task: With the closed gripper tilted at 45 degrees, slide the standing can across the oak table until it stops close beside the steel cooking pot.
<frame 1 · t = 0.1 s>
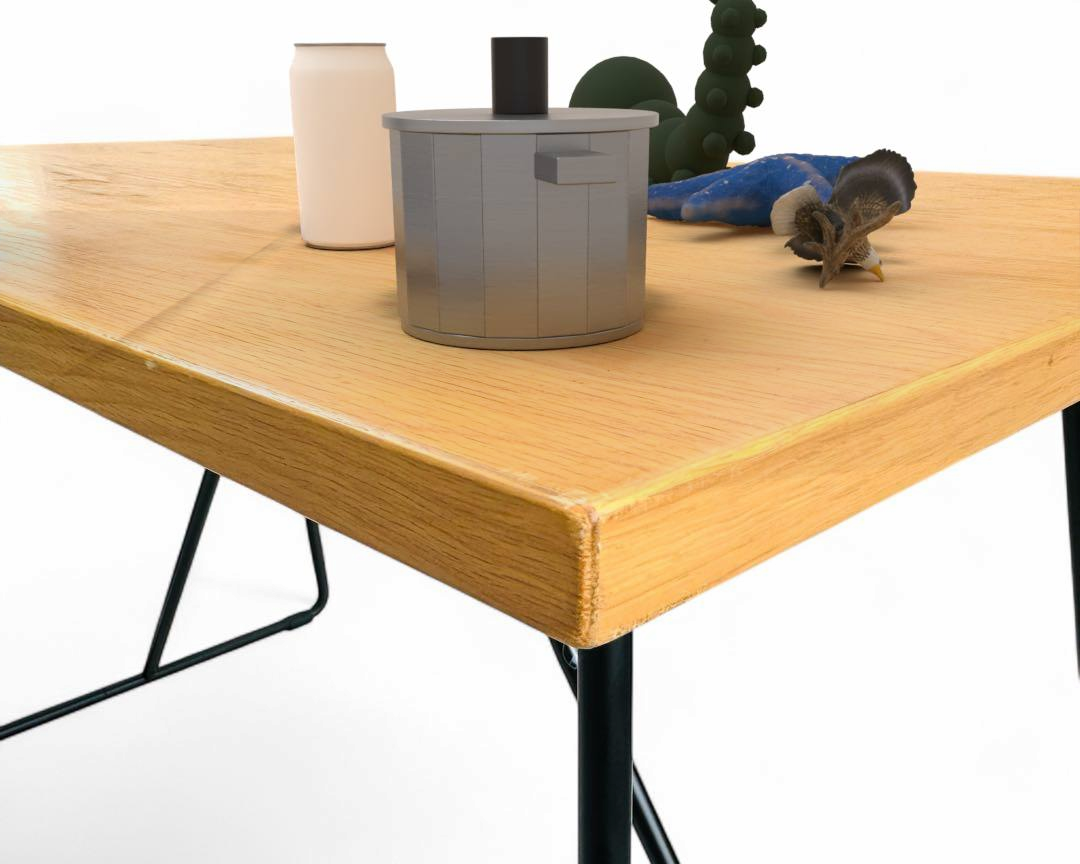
pot: (522, 322, 55), on the table
pot lid: (520, 125, 52), point 8 cm above the table, touching pot
eagle figurine: (843, 280, 66), on the table
toy figurine: (651, 199, 103), on the table
starfish: (752, 229, 85), on the table
can: (352, 246, 79), on the table
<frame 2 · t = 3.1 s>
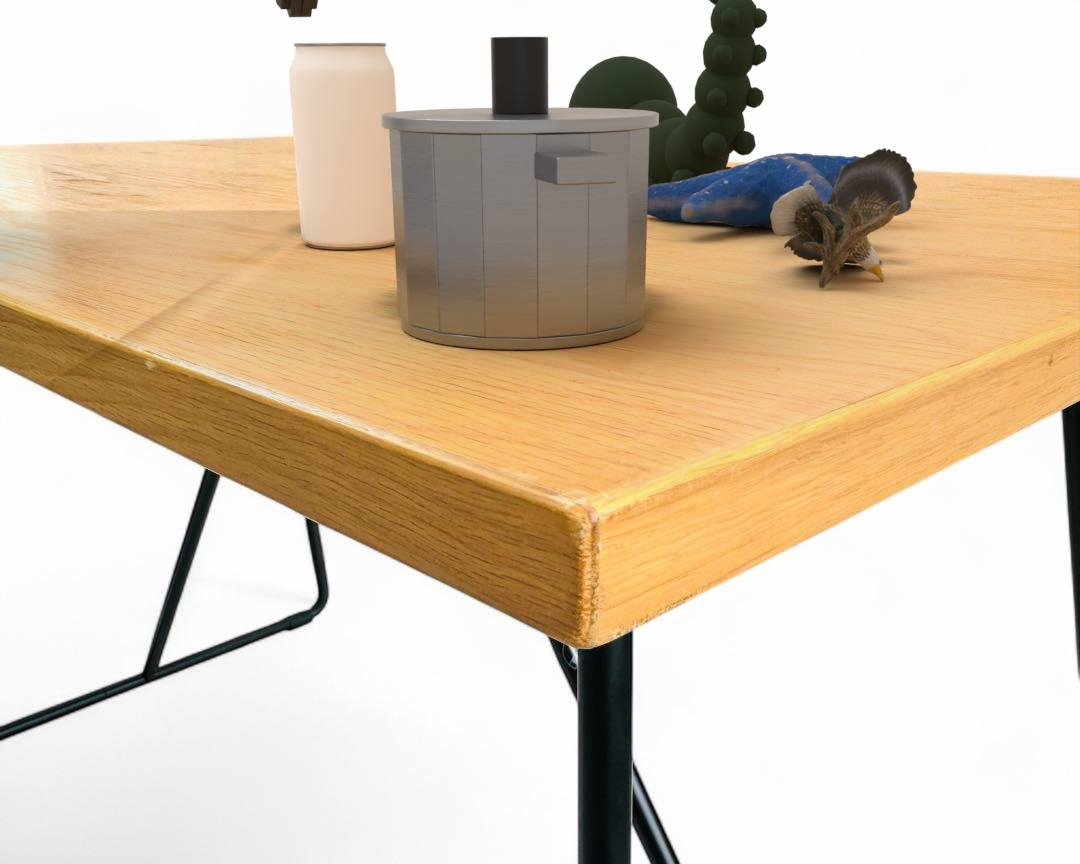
hand: (302, 7, 81), 14 cm above the table, tool tilted 45°, fingers closed
nothing on the table moved.
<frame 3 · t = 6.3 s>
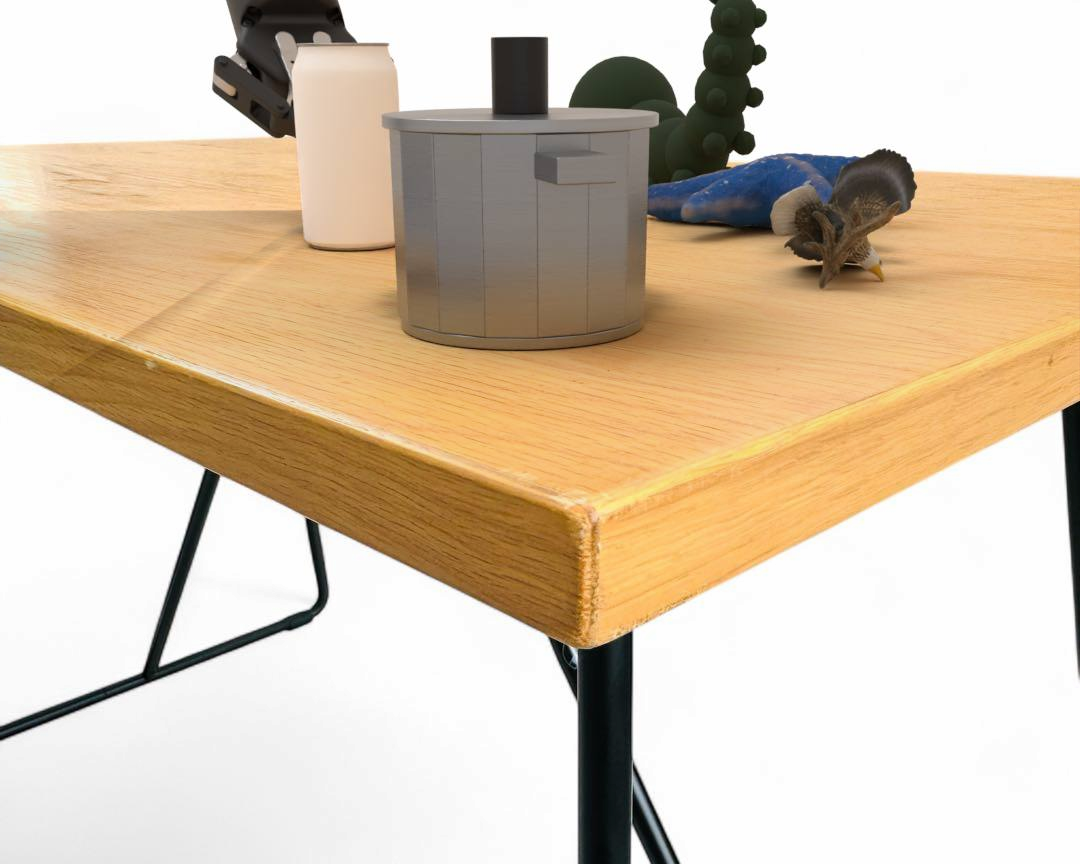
hand: (335, 177, 80), 4 cm above the table, tool tilted 45°, fingers closed
can: (355, 247, 78), on the table, touching gripper
everything else where it was.
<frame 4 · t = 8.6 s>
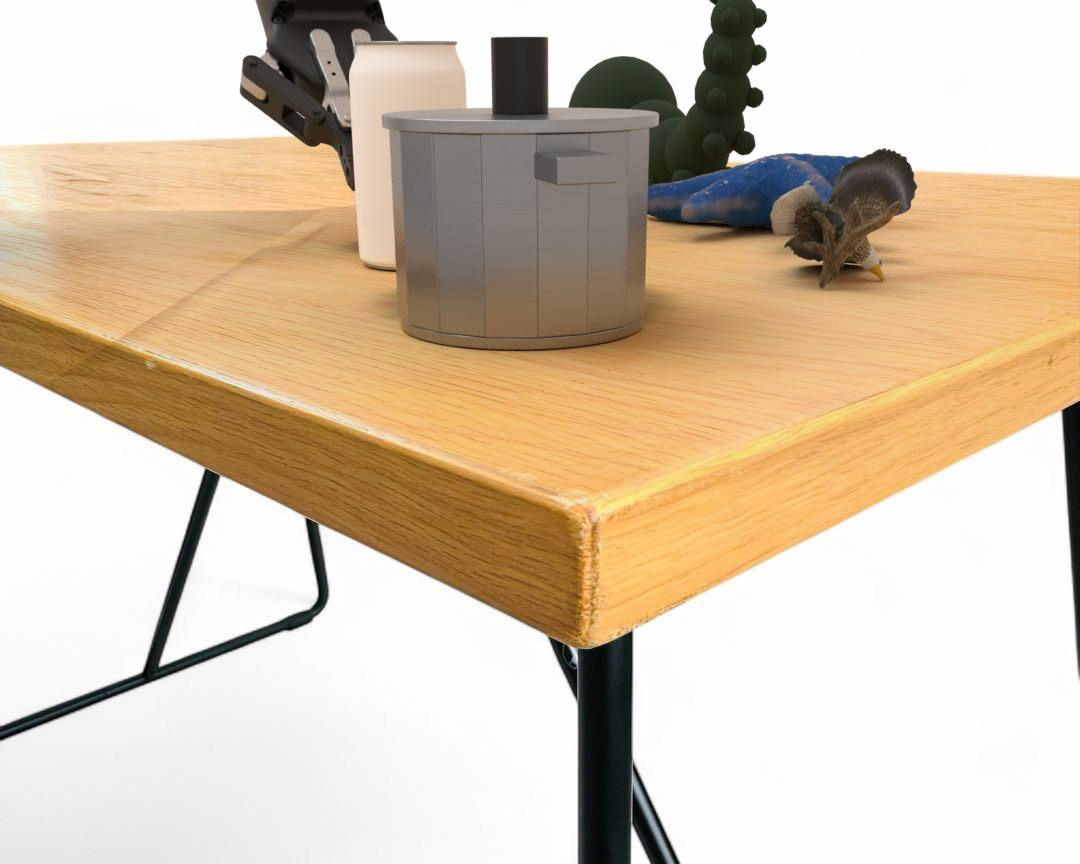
hand: (377, 189, 72), 4 cm above the table, tool tilted 45°, fingers closed
can: (415, 266, 71), on the table, touching gripper
everything else where it was.
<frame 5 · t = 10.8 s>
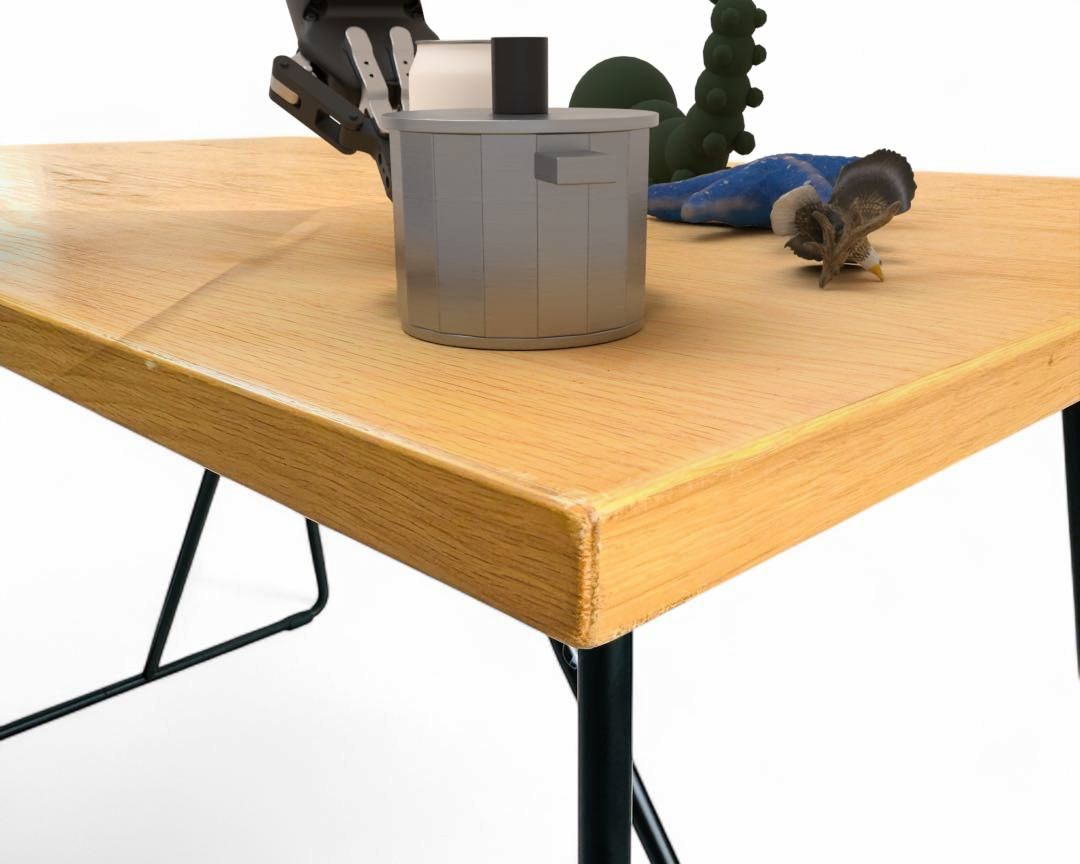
hand: (419, 201, 66), 4 cm above the table, tool tilted 45°, fingers closed
can: (476, 283, 66), on the table, touching gripper
everything else where it was.
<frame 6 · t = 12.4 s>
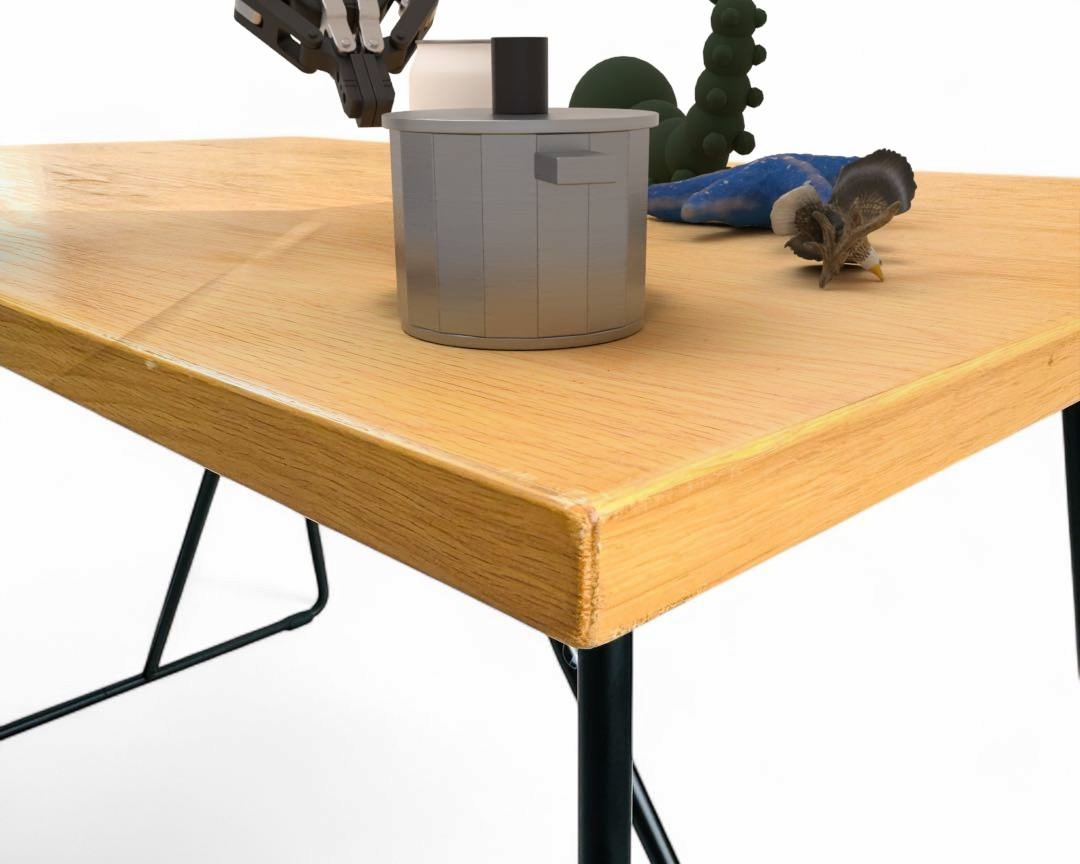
hand: (374, 117, 69), 8 cm above the table, tool tilted 45°, fingers closed
can: (476, 283, 66), on the table
everything else where it was.
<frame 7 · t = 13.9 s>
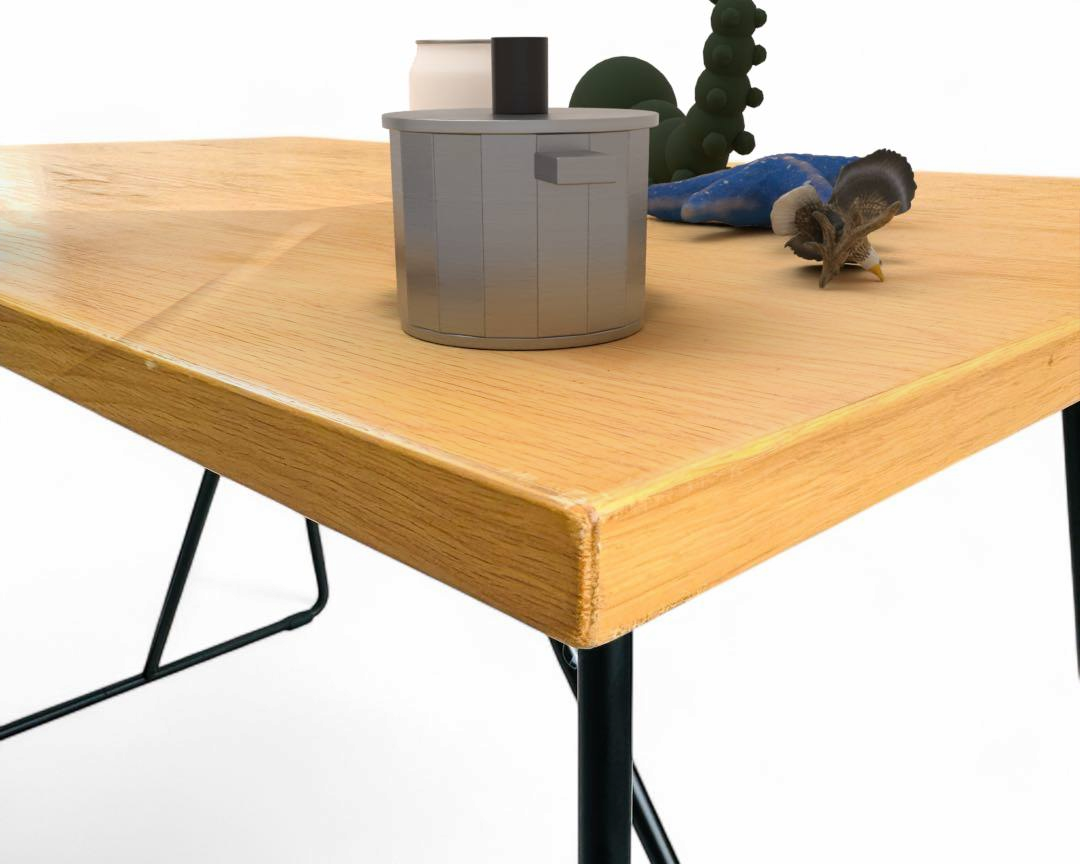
nothing on the table moved.
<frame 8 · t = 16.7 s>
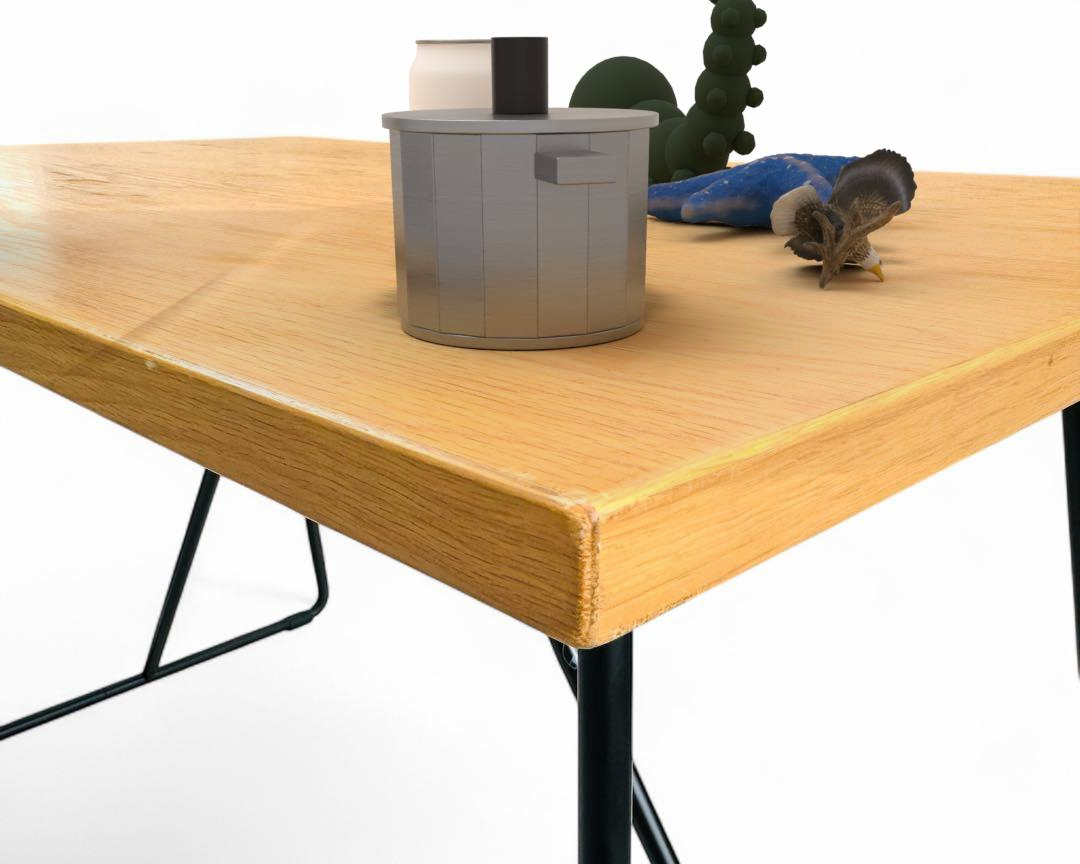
nothing on the table moved.
at the end: can 11.7 cm from the pot (horizontally); can moved 16.4 cm from its start; can tilted 0° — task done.
